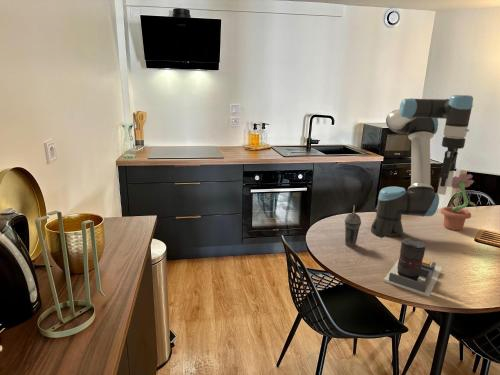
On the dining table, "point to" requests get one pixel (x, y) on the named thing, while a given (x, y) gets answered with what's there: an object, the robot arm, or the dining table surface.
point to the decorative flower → (457, 214)
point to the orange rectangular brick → (426, 262)
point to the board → (422, 283)
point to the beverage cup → (352, 228)
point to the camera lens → (411, 258)
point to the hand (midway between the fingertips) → (444, 190)
